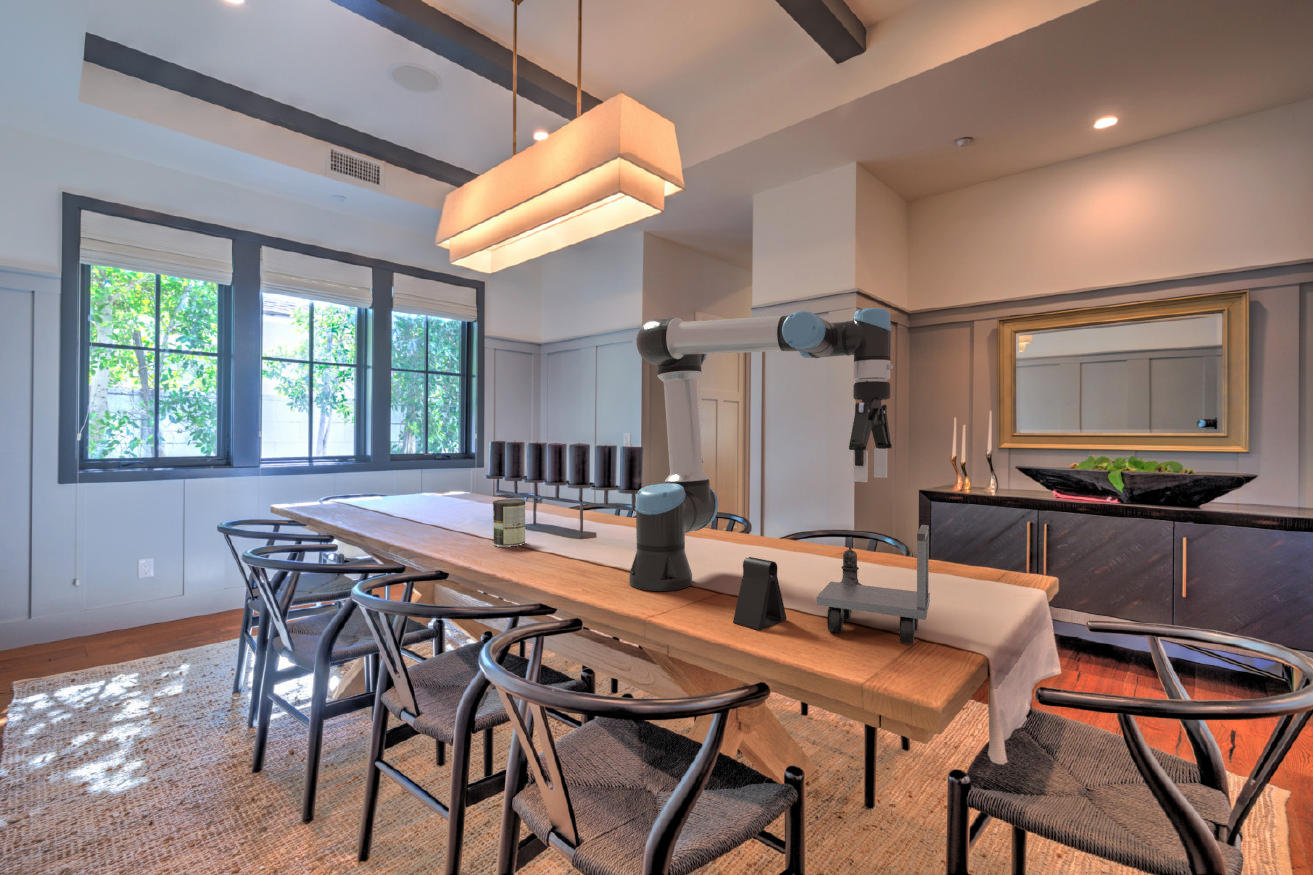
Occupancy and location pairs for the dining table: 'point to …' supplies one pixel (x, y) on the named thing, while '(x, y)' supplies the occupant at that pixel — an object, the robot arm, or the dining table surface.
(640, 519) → the robot arm
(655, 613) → the dining table surface
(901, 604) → the trolley
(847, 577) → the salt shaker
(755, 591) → the black a-frame stand
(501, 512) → the coffee can
